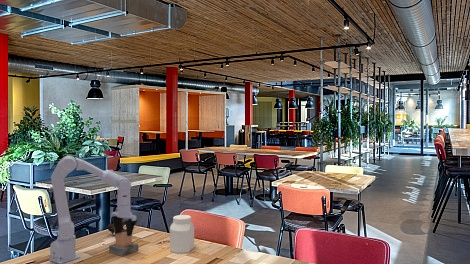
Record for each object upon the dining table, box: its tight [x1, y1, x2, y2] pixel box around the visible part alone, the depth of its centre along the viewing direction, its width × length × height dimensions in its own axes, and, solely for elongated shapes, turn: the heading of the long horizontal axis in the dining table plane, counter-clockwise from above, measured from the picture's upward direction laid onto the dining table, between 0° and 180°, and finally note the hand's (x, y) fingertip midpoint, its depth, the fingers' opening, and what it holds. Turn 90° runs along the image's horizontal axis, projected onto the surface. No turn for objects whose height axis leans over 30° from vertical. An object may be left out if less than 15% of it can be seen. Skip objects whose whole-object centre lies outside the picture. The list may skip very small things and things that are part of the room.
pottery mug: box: [107, 220, 127, 235], centre depth 191 cm, size 12×10×8 cm
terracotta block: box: [115, 232, 133, 247], centre depth 167 cm, size 5×5×5 cm
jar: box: [169, 214, 195, 254], centre depth 170 cm, size 12×10×15 cm
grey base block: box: [108, 241, 139, 257], centre depth 167 cm, size 9×9×4 cm
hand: (123, 234), depth 167 cm, fingers open, 7 cm apart
